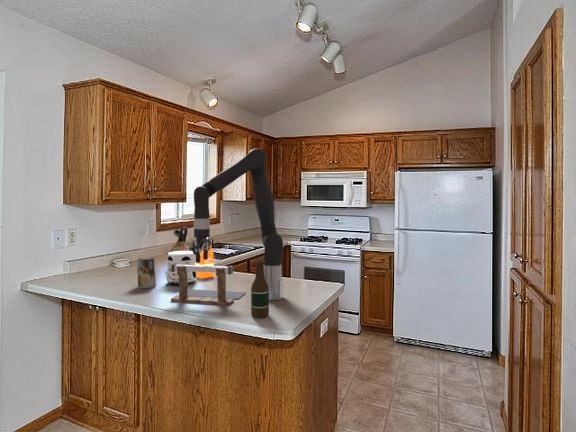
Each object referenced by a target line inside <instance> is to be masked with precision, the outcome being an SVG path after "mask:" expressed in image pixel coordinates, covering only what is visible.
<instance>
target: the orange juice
mask: <svg viewBox="0 0 576 432" xmlns="http://www.w3.org/2000/svg"><path fill="white" fill-rule="evenodd" d="M200 255H201V262H200V263H196V255H195V265H201V266H215V265H214V263H215V261H214V252H213V249H212V246H211V245H210V250H209V252H208V259H207V260H204V259H203V251H201V254H200ZM214 274H215V273H213V272H197V277H196V278H198V279H207V278H210V277H211V278H212V277H214Z"/></svg>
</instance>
